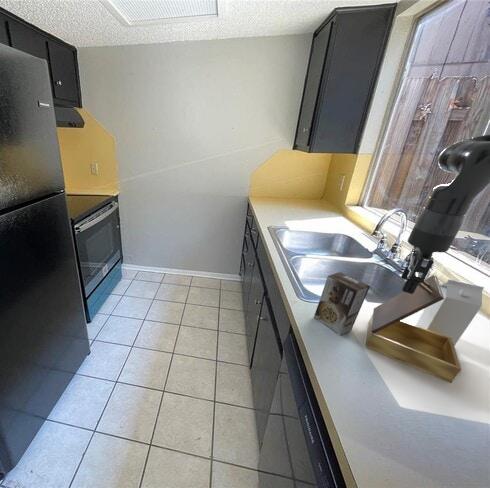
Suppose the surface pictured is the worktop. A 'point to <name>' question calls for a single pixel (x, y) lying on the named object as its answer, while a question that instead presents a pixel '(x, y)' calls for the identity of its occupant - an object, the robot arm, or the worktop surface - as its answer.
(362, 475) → the worktop surface
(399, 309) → the cover
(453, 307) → the milk carton
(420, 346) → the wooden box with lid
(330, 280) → the coffee box
